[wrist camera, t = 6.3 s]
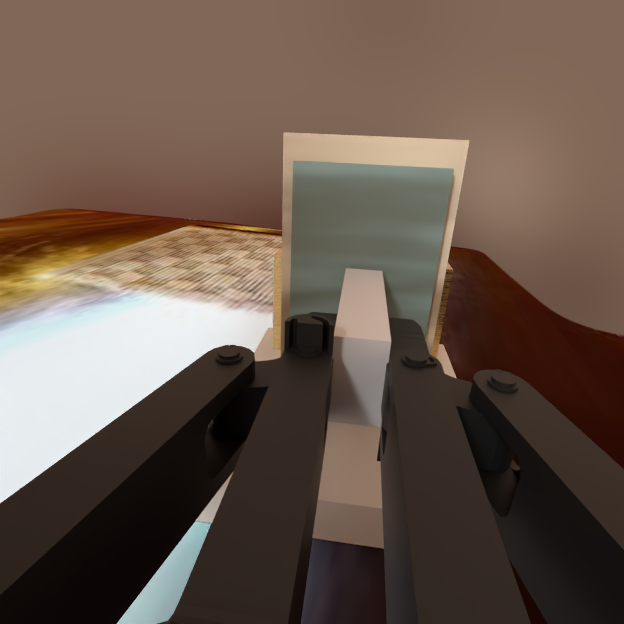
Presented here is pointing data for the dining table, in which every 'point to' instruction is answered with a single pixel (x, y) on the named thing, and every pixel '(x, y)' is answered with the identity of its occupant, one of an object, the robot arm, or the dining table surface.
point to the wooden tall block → (368, 220)
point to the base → (341, 475)
